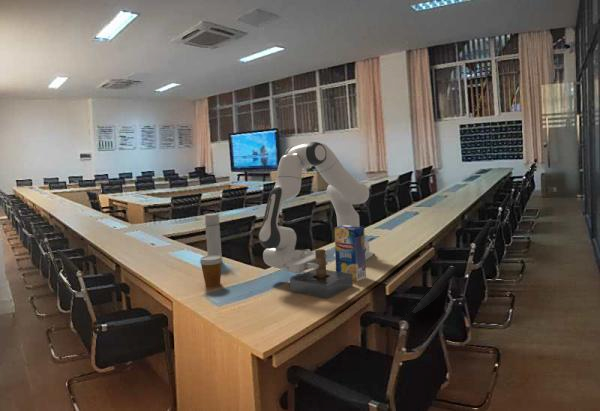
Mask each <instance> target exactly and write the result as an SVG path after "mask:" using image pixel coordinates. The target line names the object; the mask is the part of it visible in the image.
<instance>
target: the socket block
mask: <svg viewBox="0 0 600 411" xmlns="http://www.w3.org/2000/svg"><path fill="white" fill-rule="evenodd" d="M353 282H354V281H353V277H352V274H350V273H343V272H337V271H336V270H335V271H334V270H330V269H329V270H328V269H326V278H325V279H319V278H316V269H315V268H313V269H310V270H308V271H306V272H303V273H301V274H299V275H296V276H294V277H292V278H289V288H290V292H293V293H297V294H302V295H308V296H313V297H317V298H322V299H327V300H328V299H330V298H332V297H334V296H336V295H338V294H340V293H342V292H344V291H345V290H348V289H349V288H352V287H353V286H354V283H353Z"/></svg>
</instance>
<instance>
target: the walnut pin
mask: <svg viewBox="0 0 600 411" xmlns="http://www.w3.org/2000/svg"><path fill="white" fill-rule="evenodd" d="M325 254H326V250H325V249H323V248H322V249H320V248H319V249H315V257H316V263H318V264H320V268H318V269H316V278H319V279H325V278H326V270H327V265H326V260H327V255H326V256H325Z"/></svg>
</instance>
